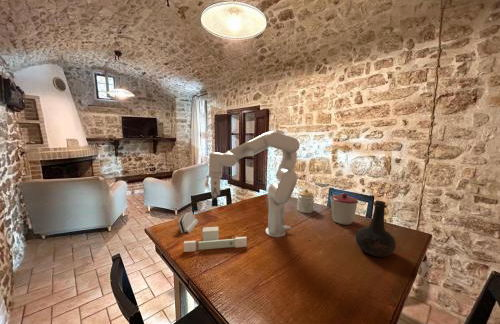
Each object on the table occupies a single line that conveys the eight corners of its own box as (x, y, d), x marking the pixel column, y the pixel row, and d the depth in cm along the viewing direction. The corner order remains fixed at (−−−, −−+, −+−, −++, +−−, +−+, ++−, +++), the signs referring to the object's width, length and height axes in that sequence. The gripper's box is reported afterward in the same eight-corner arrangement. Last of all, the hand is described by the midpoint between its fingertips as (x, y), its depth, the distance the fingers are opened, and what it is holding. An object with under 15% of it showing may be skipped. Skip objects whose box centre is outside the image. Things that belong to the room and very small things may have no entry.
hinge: (188, 233, 125) (183, 218, 124) (182, 235, 125) (176, 220, 124) (198, 221, 141) (193, 208, 140) (192, 223, 142) (187, 210, 141)
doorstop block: (218, 235, 123) (218, 226, 122) (218, 240, 118) (218, 230, 117) (203, 237, 121) (203, 227, 120) (202, 241, 116) (202, 231, 115)
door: (196, 251, 106) (195, 242, 105) (196, 249, 108) (196, 240, 107) (234, 248, 109) (234, 239, 109) (234, 246, 111) (234, 237, 111)
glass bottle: (347, 246, 113) (351, 197, 109) (370, 240, 119) (375, 194, 115) (377, 265, 97) (383, 209, 92) (402, 257, 103) (409, 205, 99)
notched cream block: (246, 244, 113) (246, 236, 112) (246, 246, 111) (246, 238, 110) (184, 250, 107) (184, 241, 106) (184, 252, 105) (183, 243, 105)
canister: (361, 223, 142) (364, 194, 139) (347, 230, 132) (350, 199, 128) (338, 214, 156) (340, 188, 153) (323, 220, 146) (325, 191, 143)
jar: (294, 207, 170) (295, 187, 168) (309, 207, 172) (310, 186, 169) (300, 213, 157) (301, 191, 155) (316, 213, 159) (317, 191, 156)
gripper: (222, 177, 107) (221, 208, 109) (221, 171, 123) (220, 198, 126) (208, 177, 105) (207, 208, 108) (209, 171, 122) (208, 198, 124)
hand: (214, 203), depth 117 cm, fingers open, 9 cm apart
